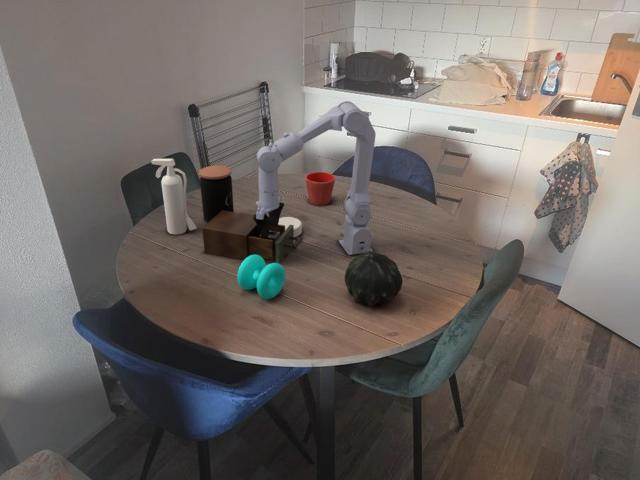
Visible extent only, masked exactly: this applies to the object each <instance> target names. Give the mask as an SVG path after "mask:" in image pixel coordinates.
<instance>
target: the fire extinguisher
mask: <svg viewBox="0 0 640 480" xmlns="http://www.w3.org/2000/svg"><path fill="white" fill-rule="evenodd" d="M150 163H151V165H157V166H159V167H158V168H157V170H156V171H155V177H156V178H157V179H159V178H161V176H162V172H163V171H164V168H166V174H165V175H163V176H162V178H161V181H160V183H161V184H160V185H161V191H162V198H163V204H164V214H165V221H166V230H167V232H168V233H169V234H170V235H175V236H176V235H182V234H184V233H186V232H187V230H189V231H194V230H196V229H197V226H196V224H195V223H194V220H192V218H191V217H189V214H188V213H189V212H188V208H187V207H188V206H187V205H188V203H187V185H188V179H187V175H186V173H185V172H184V171H183V170H181V169H180V168H176V167H174V166H176V161H175V159H174V158H153V159H152V160H151V161H150ZM176 172H178V173H180V174H181V175H182V177H183V179H182V177H181V176H180V175H179V174H176Z"/></svg>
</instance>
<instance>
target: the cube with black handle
mask: <svg viewBox="0 0 640 480" xmlns="http://www.w3.org/2000/svg"><path fill="white" fill-rule="evenodd" d="M260 238H263V239H269V240H273V251H274V252H275V251H276V241H277V240H278V239H279V238H280V232H276V231H270V230H269V236H268V238H265V237H261V234H260Z"/></svg>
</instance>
